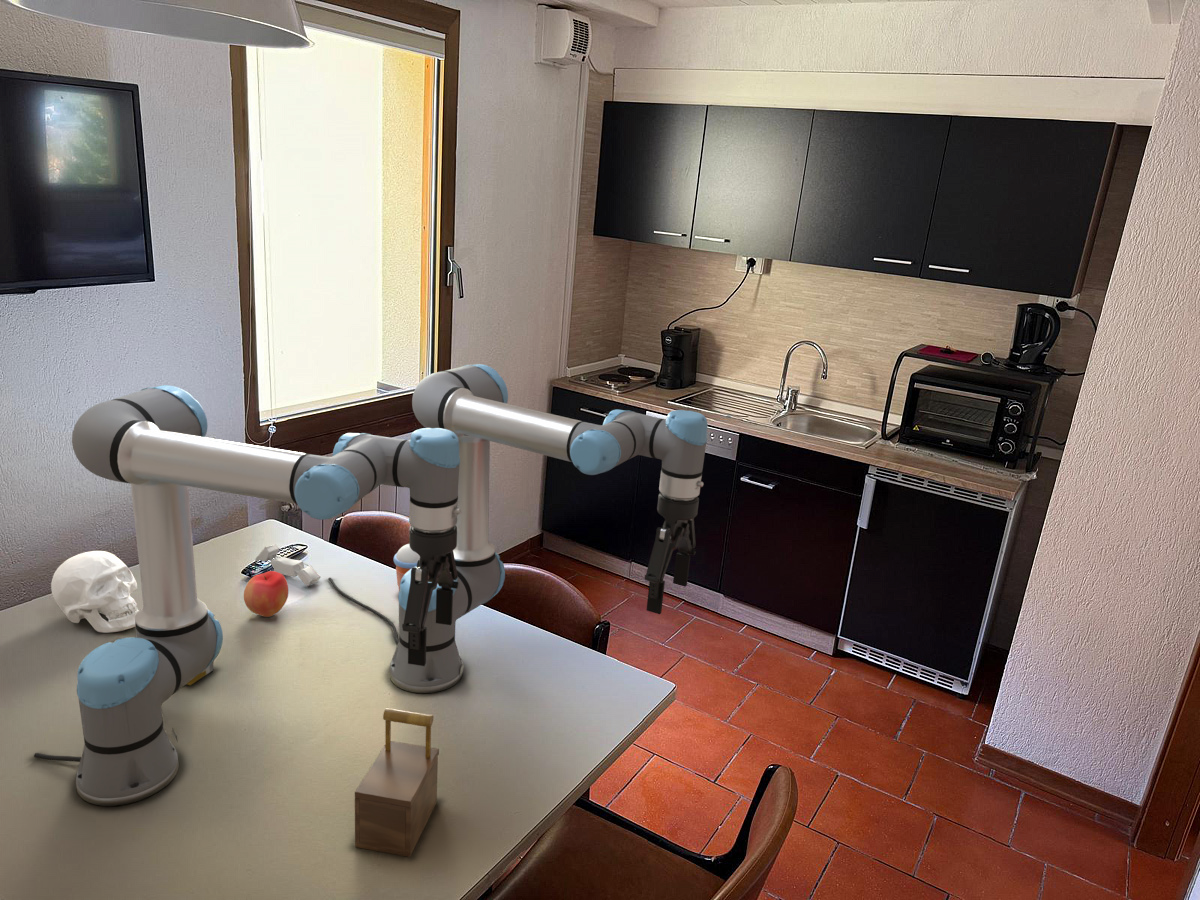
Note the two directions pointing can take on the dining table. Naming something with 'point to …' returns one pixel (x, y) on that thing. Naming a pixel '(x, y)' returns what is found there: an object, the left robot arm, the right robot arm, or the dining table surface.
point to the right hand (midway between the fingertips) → (667, 597)
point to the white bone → (288, 565)
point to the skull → (96, 590)
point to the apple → (266, 593)
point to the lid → (399, 763)
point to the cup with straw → (405, 561)
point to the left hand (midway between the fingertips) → (431, 642)
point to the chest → (395, 820)
